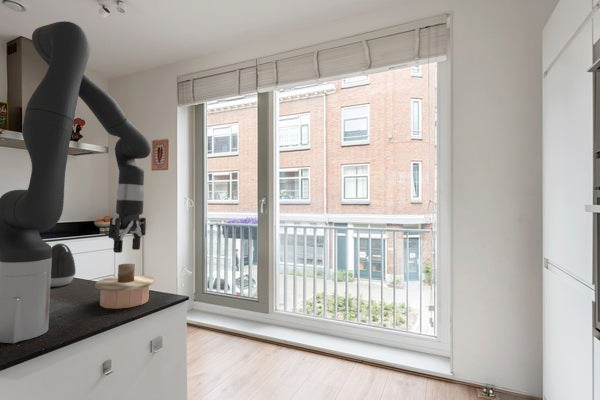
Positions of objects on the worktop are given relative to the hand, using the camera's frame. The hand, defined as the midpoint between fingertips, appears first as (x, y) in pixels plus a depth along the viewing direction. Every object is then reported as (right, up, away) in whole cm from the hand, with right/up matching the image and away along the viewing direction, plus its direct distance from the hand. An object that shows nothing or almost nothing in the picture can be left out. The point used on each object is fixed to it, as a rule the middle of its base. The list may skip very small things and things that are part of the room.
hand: (127, 250), depth 98 cm
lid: (0, -10, 0) cm, 10 cm away
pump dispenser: (-35, -16, +17) cm, 42 cm away
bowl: (-1, -16, 0) cm, 16 cm away
